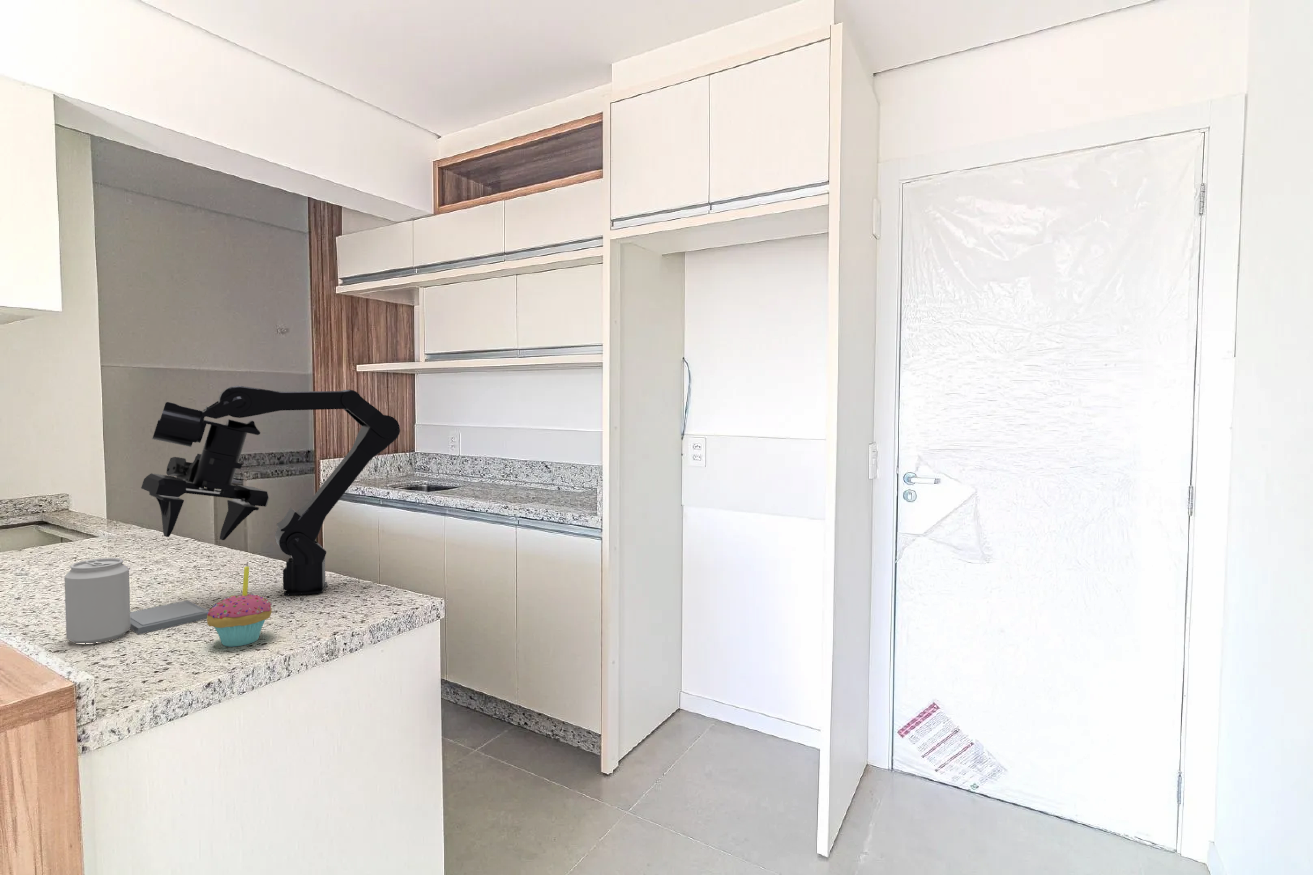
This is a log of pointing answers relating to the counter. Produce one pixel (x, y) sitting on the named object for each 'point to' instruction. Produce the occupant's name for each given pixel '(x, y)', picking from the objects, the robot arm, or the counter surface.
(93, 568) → the can
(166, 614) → the plate
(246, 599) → the cupcake
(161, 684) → the counter surface
